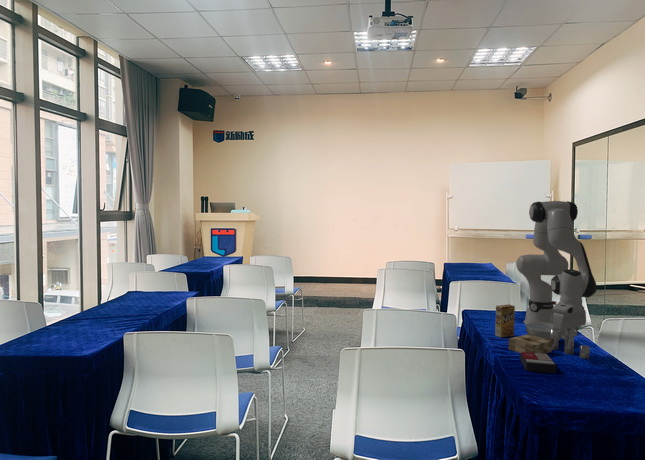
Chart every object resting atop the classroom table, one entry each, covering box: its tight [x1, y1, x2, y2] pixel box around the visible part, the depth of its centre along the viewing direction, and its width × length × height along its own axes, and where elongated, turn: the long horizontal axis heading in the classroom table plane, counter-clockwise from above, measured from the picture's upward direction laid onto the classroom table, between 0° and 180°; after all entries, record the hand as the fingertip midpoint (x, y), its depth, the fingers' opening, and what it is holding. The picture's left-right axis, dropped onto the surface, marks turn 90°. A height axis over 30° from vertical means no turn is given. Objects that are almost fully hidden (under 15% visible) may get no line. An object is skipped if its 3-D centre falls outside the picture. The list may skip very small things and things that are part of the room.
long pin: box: [563, 327, 575, 355], centre depth 207 cm, size 4×4×14 cm
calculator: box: [519, 352, 557, 375], centre depth 191 cm, size 11×4×15 cm
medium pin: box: [550, 328, 560, 351], centre depth 213 cm, size 4×4×9 cm
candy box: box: [494, 304, 516, 338], centre depth 233 cm, size 9×4×15 cm, turn 113°
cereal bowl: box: [525, 322, 562, 340], centre depth 225 cm, size 17×17×7 cm
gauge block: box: [507, 333, 553, 354], centre depth 210 cm, size 14×12×5 cm
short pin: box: [579, 344, 591, 360], centre depth 201 cm, size 4×4×5 cm
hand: (569, 337), depth 207 cm, fingers open, 6 cm apart
